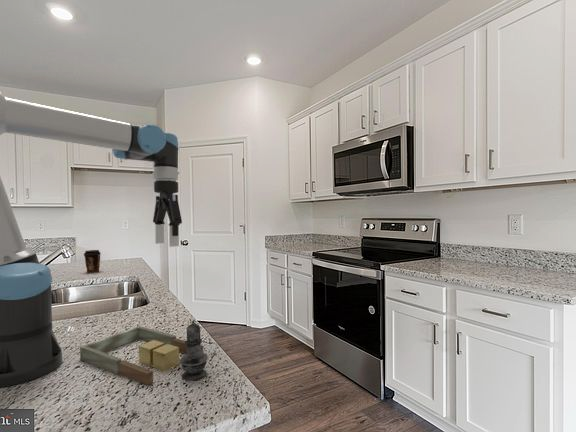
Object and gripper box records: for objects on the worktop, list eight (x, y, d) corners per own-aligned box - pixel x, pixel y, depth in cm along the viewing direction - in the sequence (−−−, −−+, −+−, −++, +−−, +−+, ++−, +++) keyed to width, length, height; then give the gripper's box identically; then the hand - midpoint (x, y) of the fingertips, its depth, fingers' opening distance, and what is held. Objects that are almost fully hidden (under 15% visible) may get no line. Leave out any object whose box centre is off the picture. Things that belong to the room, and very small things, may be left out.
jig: (146, 386, 66) (146, 371, 66) (80, 359, 78) (80, 346, 78) (204, 355, 79) (204, 343, 79) (139, 336, 92) (139, 326, 92)
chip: (150, 366, 74) (149, 349, 74) (139, 362, 76) (138, 345, 76) (164, 359, 78) (164, 343, 78) (153, 356, 80) (153, 339, 80)
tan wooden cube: (164, 371, 72) (164, 354, 72) (153, 367, 74) (152, 350, 74) (179, 364, 75) (178, 347, 75) (167, 360, 77) (167, 343, 77)
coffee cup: (85, 271, 193) (85, 250, 193) (101, 270, 197) (101, 249, 197) (83, 274, 185) (82, 251, 185) (100, 273, 189) (99, 250, 189)
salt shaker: (197, 366, 74) (196, 313, 74) (213, 374, 70) (213, 319, 70) (174, 376, 70) (173, 320, 69) (190, 385, 66) (189, 326, 66)
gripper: (192, 178, 101) (192, 246, 101) (164, 184, 120) (165, 241, 120) (168, 176, 96) (168, 248, 96) (143, 182, 115) (143, 242, 115)
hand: (166, 244), depth 108 cm, fingers open, 13 cm apart
